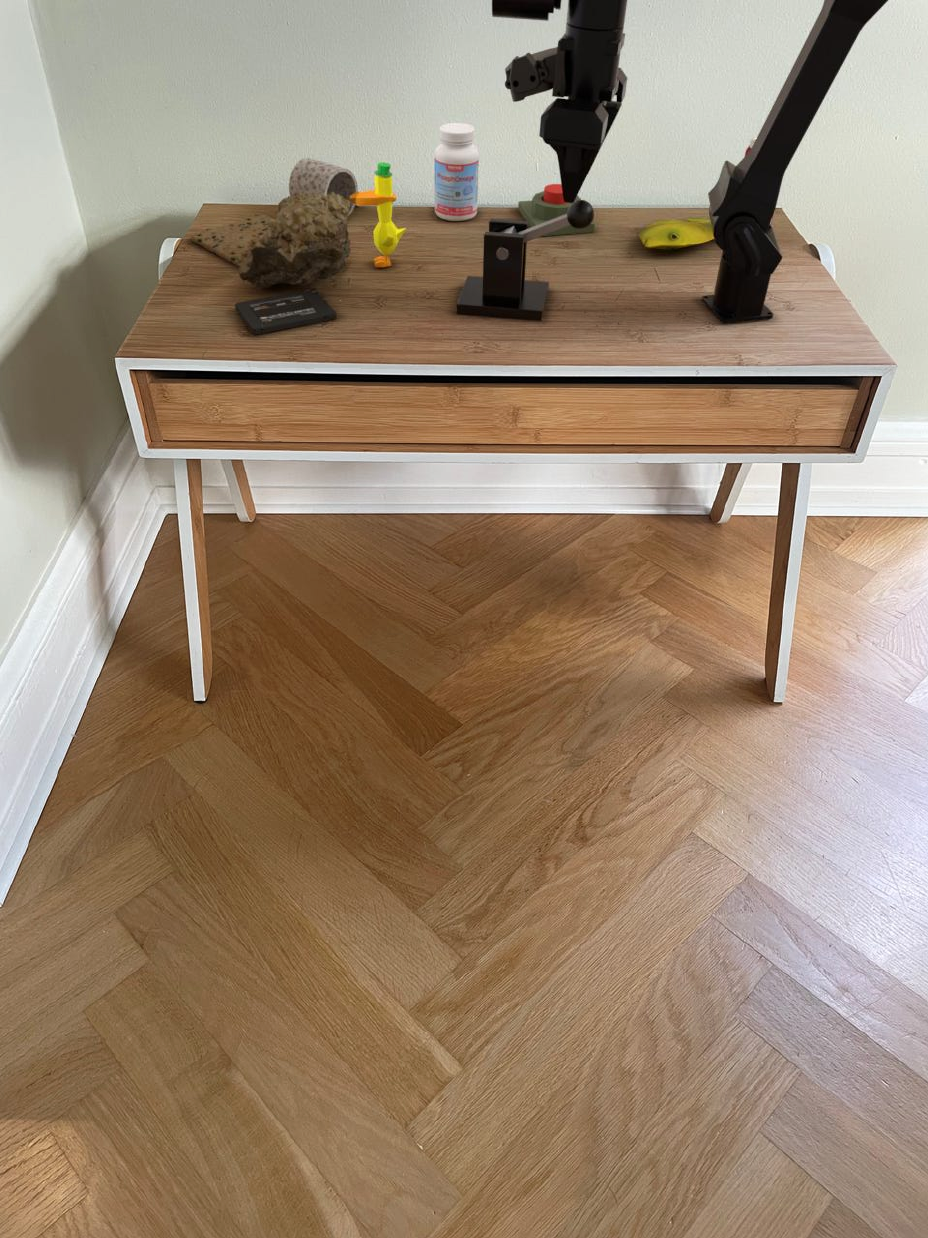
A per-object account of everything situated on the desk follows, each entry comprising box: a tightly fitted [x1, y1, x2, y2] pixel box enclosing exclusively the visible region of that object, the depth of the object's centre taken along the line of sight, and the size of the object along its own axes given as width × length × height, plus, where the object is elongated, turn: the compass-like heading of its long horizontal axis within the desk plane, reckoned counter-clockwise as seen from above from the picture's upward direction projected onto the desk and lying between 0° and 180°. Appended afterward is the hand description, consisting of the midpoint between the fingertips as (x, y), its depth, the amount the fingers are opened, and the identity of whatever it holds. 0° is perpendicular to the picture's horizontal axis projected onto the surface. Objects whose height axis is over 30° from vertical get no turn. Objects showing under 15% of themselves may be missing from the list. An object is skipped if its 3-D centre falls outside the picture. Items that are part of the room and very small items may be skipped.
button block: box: [517, 190, 595, 237], centre depth 130 cm, size 10×8×3 cm
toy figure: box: [350, 161, 407, 268], centre depth 116 cm, size 7×4×12 cm, turn 102°
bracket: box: [456, 218, 550, 322], centre depth 109 cm, size 10×8×9 cm
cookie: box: [191, 213, 276, 268], centre depth 124 cm, size 12×12×1 cm
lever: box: [498, 199, 595, 243], centre depth 106 cm, size 12×3×3 cm, turn 80°
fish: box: [638, 216, 715, 251], centre depth 126 cm, size 3×16×10 cm
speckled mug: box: [288, 157, 359, 218], centre depth 131 cm, size 10×7×7 cm
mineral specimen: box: [234, 192, 352, 290], centre depth 113 cm, size 14×13×10 cm
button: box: [543, 183, 567, 205], centre depth 129 cm, size 4×4×2 cm
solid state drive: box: [234, 288, 337, 335], centre depth 109 cm, size 7×10×1 cm
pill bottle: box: [433, 122, 480, 222], centre depth 129 cm, size 6×6×11 cm
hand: (576, 187), depth 104 cm, fingers open, 9 cm apart
